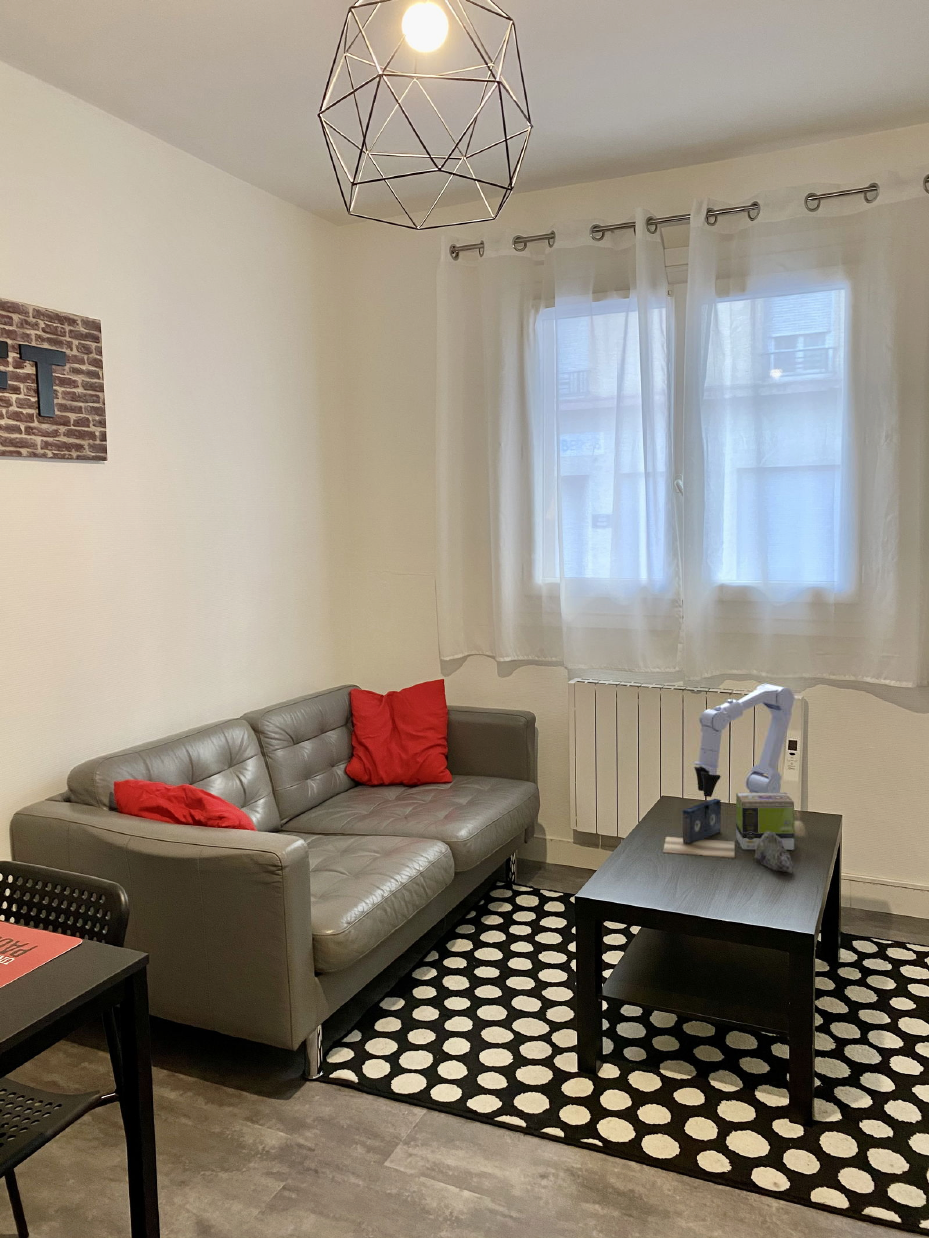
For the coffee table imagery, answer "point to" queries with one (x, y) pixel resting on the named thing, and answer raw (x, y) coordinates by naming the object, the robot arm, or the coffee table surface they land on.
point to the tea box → (764, 818)
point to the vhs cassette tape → (701, 821)
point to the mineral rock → (773, 853)
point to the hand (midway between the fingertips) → (704, 793)
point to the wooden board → (700, 847)
